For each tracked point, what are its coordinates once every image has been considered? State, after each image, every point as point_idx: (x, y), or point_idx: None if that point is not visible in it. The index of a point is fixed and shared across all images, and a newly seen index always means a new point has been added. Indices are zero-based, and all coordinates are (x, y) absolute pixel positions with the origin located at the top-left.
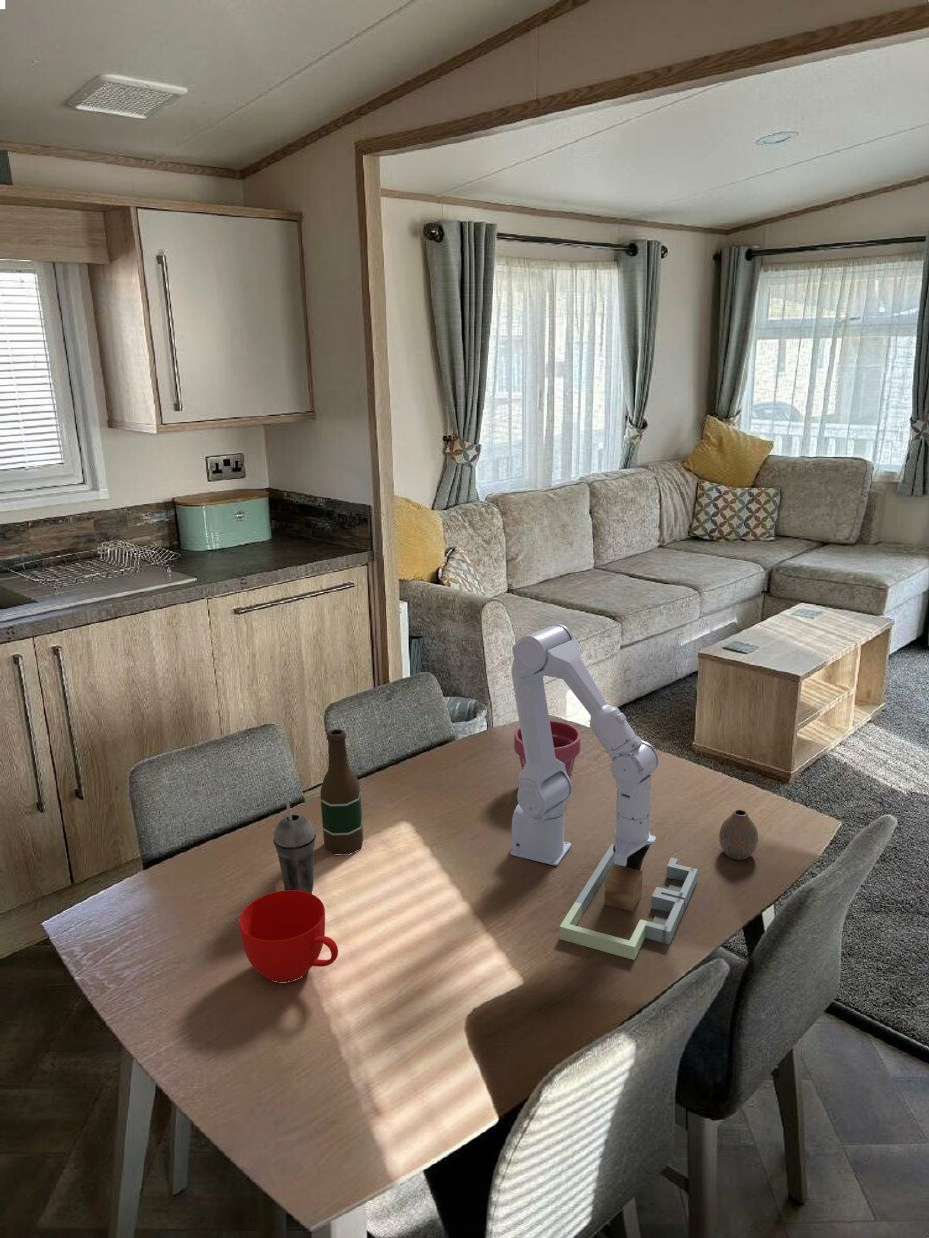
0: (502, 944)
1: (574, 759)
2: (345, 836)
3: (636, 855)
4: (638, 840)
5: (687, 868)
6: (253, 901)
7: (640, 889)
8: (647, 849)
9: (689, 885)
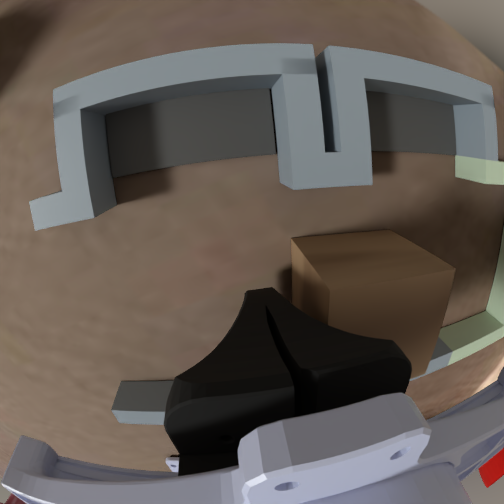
0: (492, 368)
1: (18, 501)
2: None
3: (405, 386)
4: (458, 482)
5: (66, 127)
6: (495, 481)
7: (322, 250)
8: (291, 378)
9: (198, 53)
